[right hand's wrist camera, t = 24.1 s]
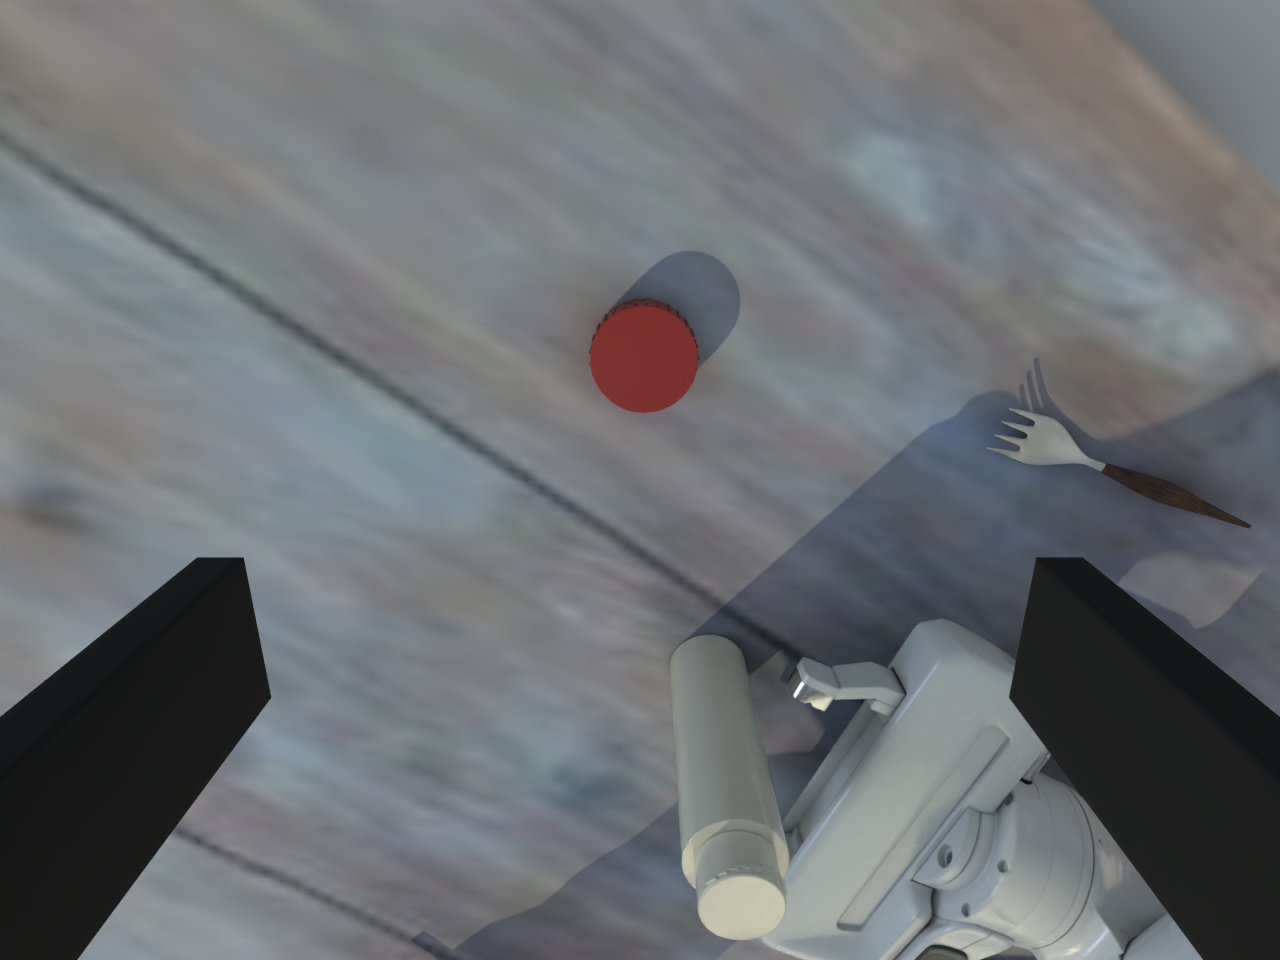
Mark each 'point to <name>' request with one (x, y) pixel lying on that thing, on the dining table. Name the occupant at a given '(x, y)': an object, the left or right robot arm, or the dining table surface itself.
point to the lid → (643, 356)
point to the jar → (725, 793)
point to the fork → (1098, 465)
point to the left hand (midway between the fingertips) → (750, 747)
